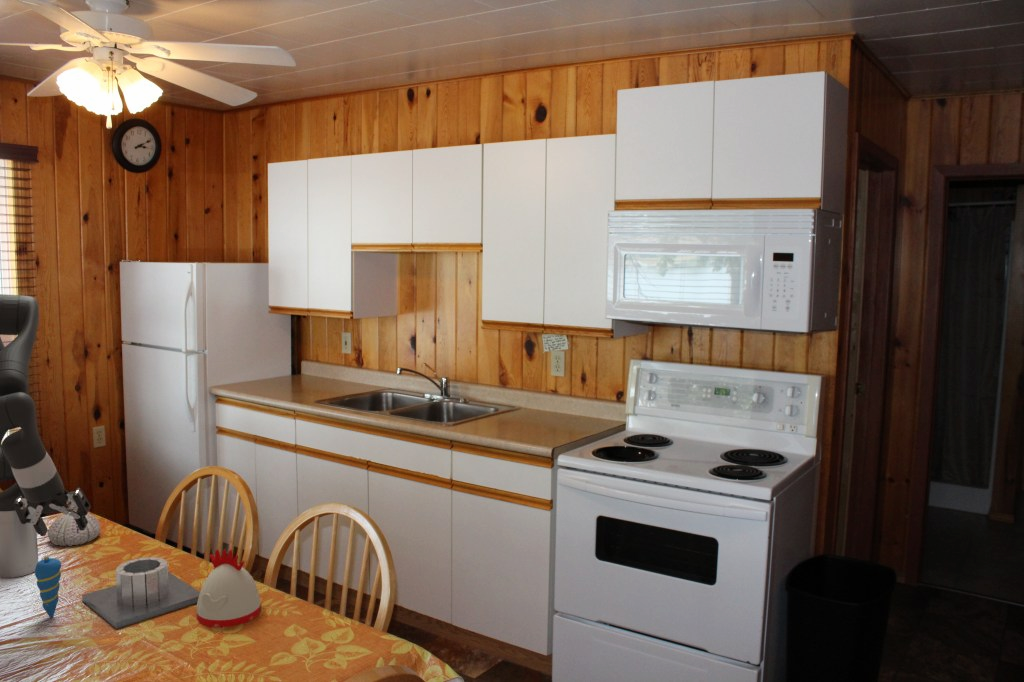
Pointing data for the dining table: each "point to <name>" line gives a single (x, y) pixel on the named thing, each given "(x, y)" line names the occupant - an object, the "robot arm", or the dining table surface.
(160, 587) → the tube on square plate
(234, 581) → the kitchen timer
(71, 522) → the sea urchin shell
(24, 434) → the robot arm
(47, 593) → the ornament
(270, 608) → the dining table surface
